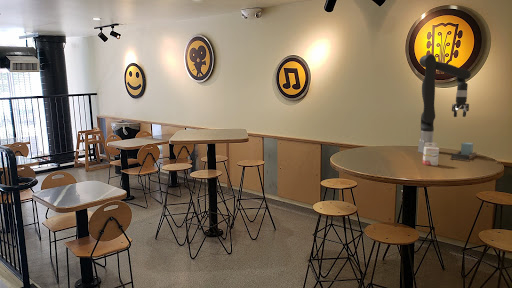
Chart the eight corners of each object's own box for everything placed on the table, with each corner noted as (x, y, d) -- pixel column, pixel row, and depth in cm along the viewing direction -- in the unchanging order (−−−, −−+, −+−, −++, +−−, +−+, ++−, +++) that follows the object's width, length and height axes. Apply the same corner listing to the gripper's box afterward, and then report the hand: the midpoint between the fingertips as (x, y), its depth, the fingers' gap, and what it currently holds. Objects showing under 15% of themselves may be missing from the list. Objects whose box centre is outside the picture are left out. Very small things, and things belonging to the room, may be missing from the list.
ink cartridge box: (424, 165, 259) (426, 143, 257) (422, 163, 264) (423, 142, 261) (438, 165, 258) (439, 143, 256) (435, 163, 263) (437, 142, 261)
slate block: (463, 154, 292) (464, 142, 290) (472, 155, 288) (473, 143, 286) (460, 155, 286) (461, 143, 284) (469, 156, 282) (470, 144, 280)
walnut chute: (459, 155, 295) (459, 149, 294) (476, 157, 287) (477, 151, 286) (450, 159, 278) (450, 153, 277) (468, 161, 270) (469, 155, 269)
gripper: (465, 95, 307) (463, 116, 309) (450, 95, 303) (448, 116, 305) (472, 96, 299) (470, 117, 302) (457, 96, 295) (455, 117, 298)
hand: (459, 116), depth 304 cm, fingers open, 8 cm apart
